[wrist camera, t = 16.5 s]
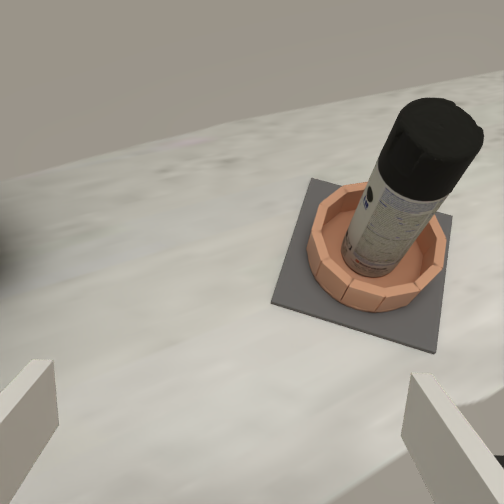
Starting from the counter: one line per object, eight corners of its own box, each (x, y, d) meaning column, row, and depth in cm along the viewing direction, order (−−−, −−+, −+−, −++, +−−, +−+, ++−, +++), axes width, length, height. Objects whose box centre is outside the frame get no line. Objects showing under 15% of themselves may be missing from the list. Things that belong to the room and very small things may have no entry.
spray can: (375, 220, 52) (444, 83, 35) (411, 264, 50) (505, 140, 32) (329, 242, 51) (377, 111, 33) (363, 290, 48) (435, 173, 30)
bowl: (293, 290, 49) (298, 271, 44) (322, 193, 55) (329, 169, 51) (419, 329, 47) (437, 313, 43) (434, 224, 53) (451, 201, 49)
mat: (270, 303, 48) (271, 301, 48) (310, 180, 57) (311, 177, 56) (433, 354, 46) (436, 352, 46) (450, 218, 54) (452, 215, 54)
